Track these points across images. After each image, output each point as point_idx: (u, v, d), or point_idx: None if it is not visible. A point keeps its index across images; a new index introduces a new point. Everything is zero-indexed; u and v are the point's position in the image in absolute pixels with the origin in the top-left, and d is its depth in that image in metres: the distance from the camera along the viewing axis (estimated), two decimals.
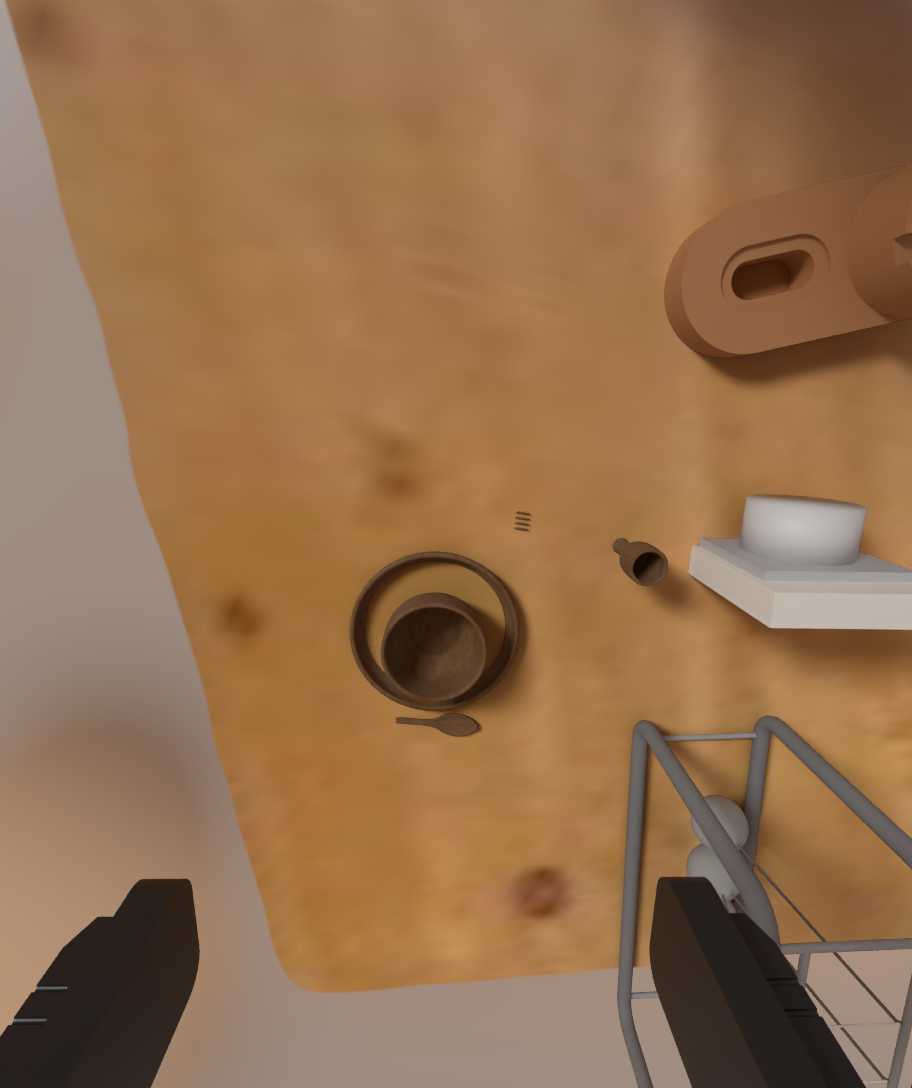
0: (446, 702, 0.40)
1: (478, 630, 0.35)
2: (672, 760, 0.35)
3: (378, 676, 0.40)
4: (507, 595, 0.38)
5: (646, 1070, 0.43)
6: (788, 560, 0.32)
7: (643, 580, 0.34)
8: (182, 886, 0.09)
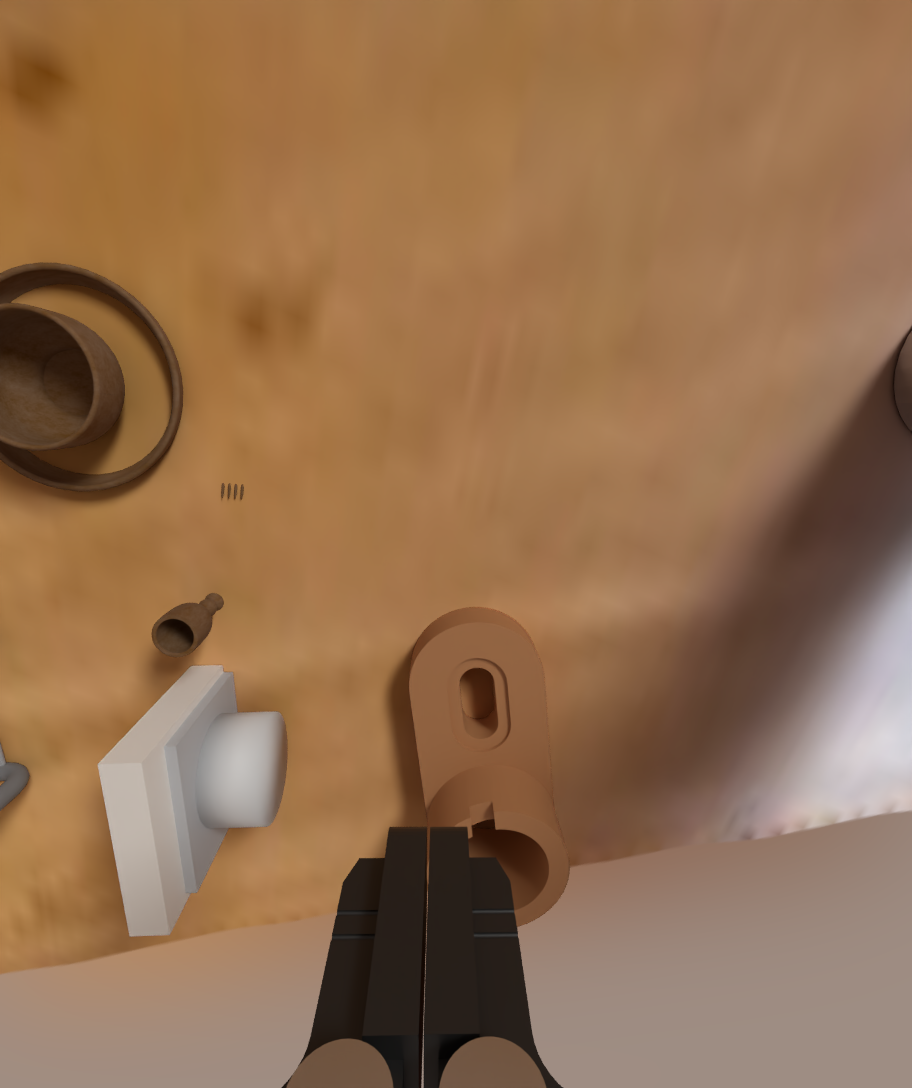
0: None
1: (68, 438, 0.27)
2: None
3: None
4: (133, 475, 0.31)
5: None
6: (199, 765, 0.30)
7: (160, 631, 0.29)
8: (426, 833, 0.10)
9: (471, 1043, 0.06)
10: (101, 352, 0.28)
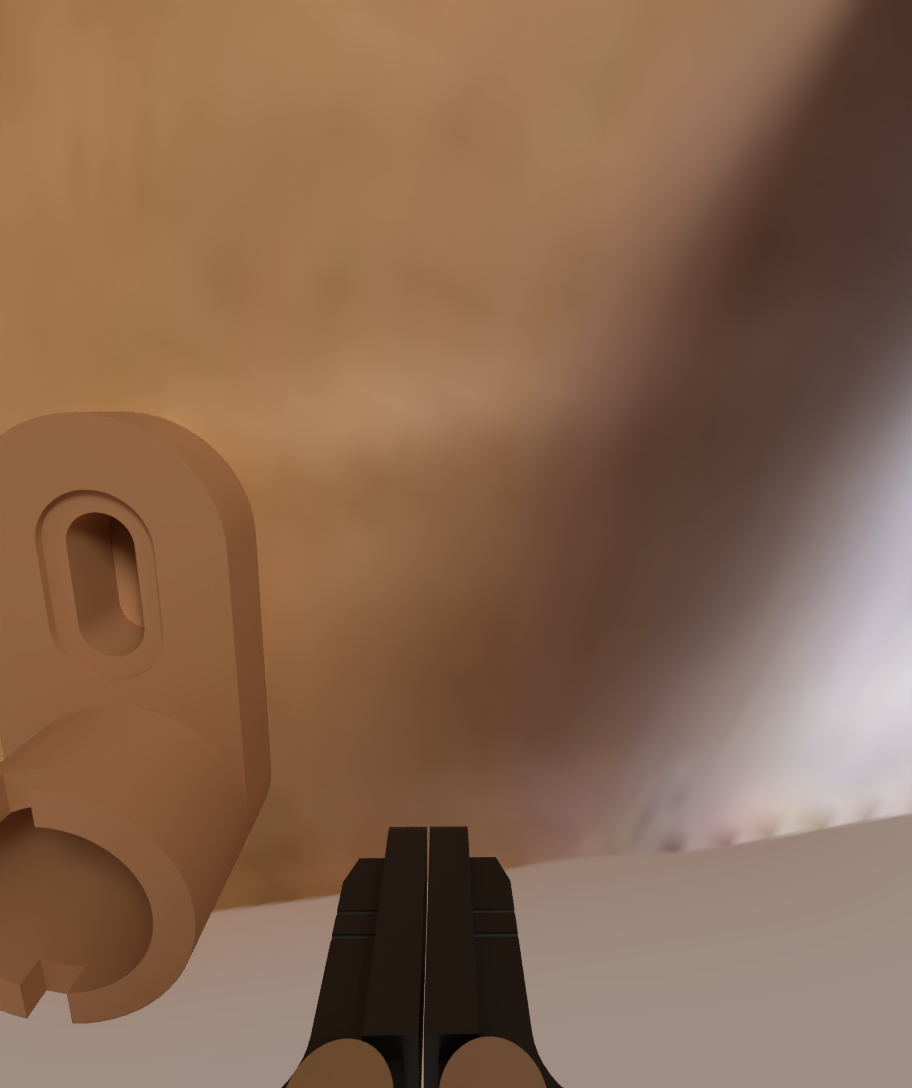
0: None
1: None
2: None
3: None
4: None
5: None
6: None
7: None
8: (426, 833, 0.10)
9: (471, 1043, 0.06)
10: None
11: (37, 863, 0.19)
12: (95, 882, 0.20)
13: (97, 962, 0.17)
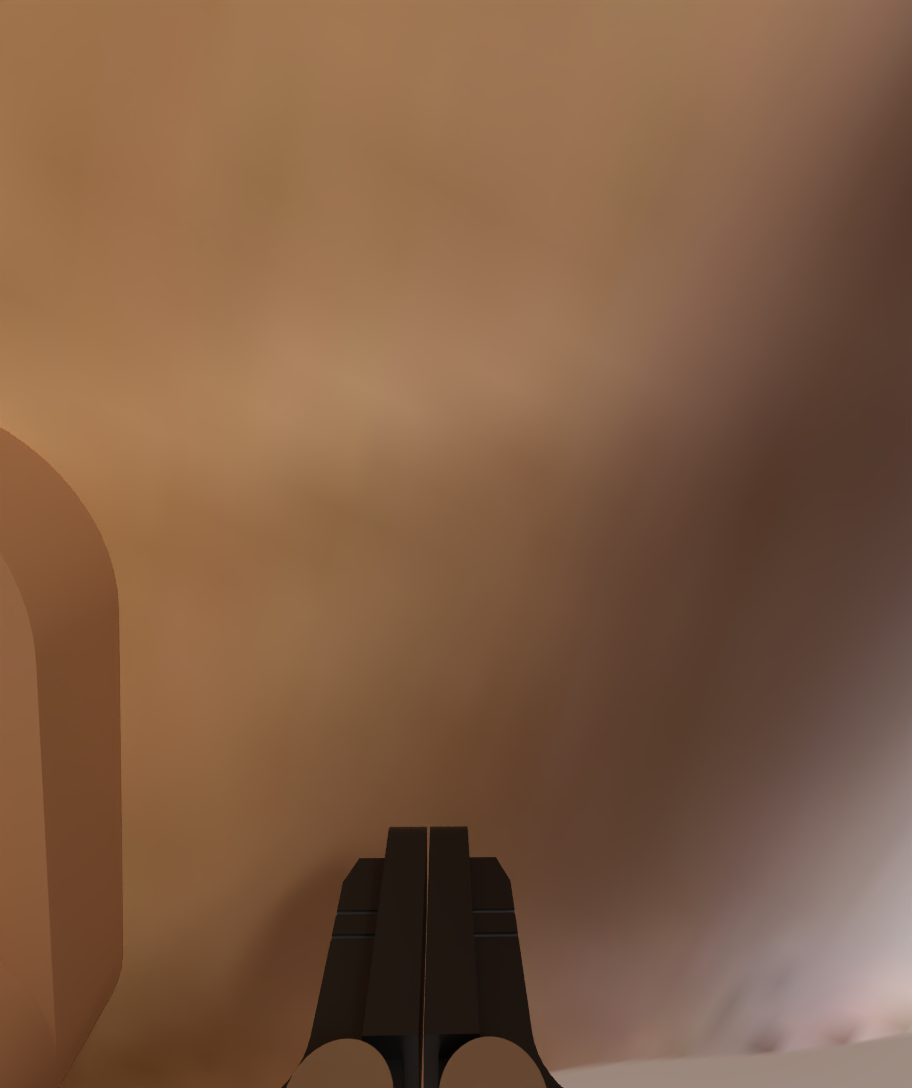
0: None
1: None
2: None
3: None
4: None
5: None
6: None
7: None
8: (426, 833, 0.10)
9: (471, 1043, 0.06)
10: None
11: None
12: None
13: None
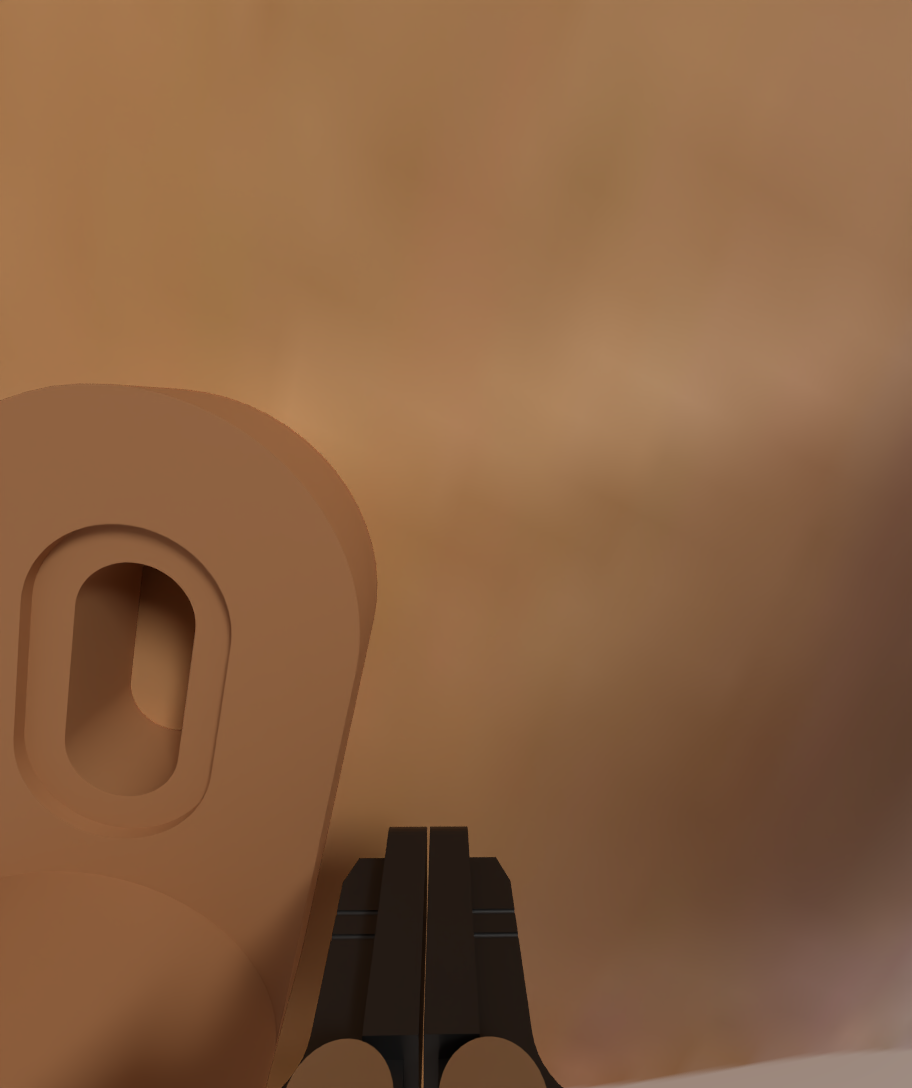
0: None
1: None
2: None
3: None
4: None
5: None
6: None
7: None
8: (426, 833, 0.10)
9: (471, 1043, 0.06)
10: None
11: None
12: None
13: None
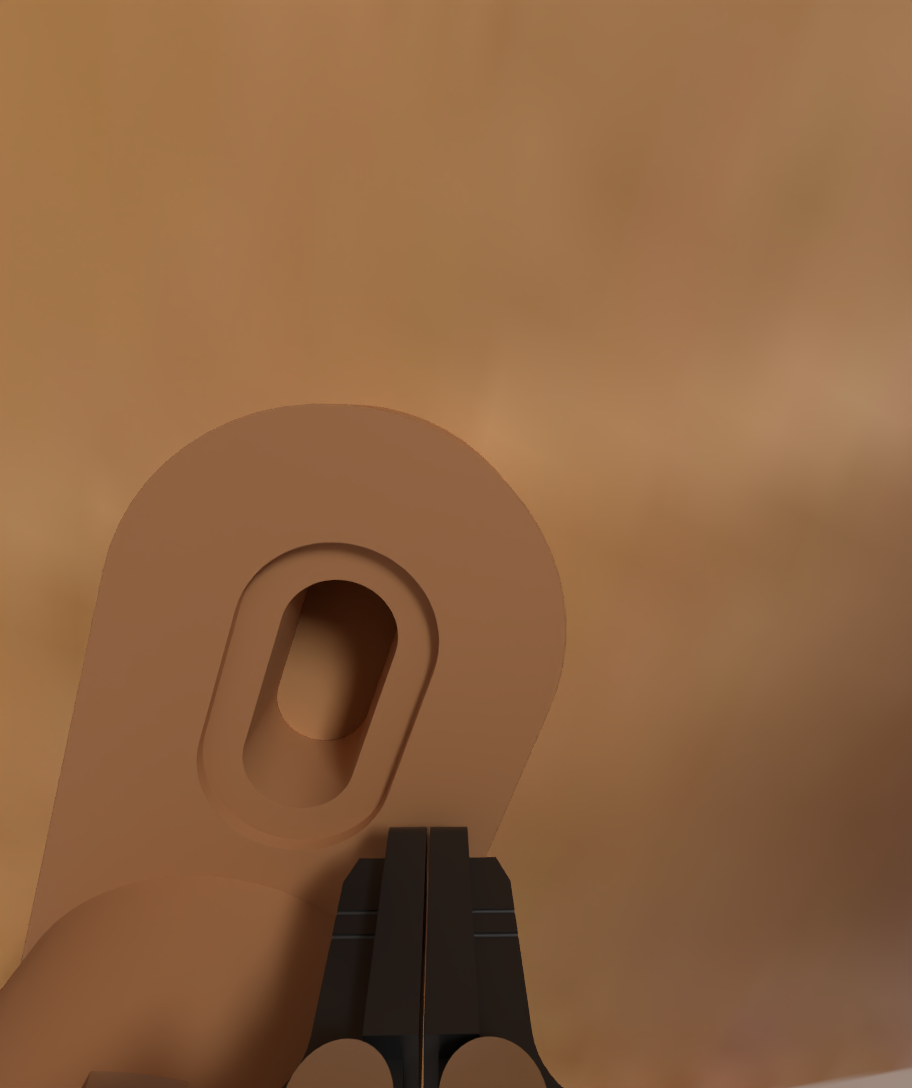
0: None
1: None
2: None
3: None
4: None
5: None
6: None
7: None
8: (426, 833, 0.10)
9: (471, 1043, 0.06)
10: None
11: None
12: None
13: None
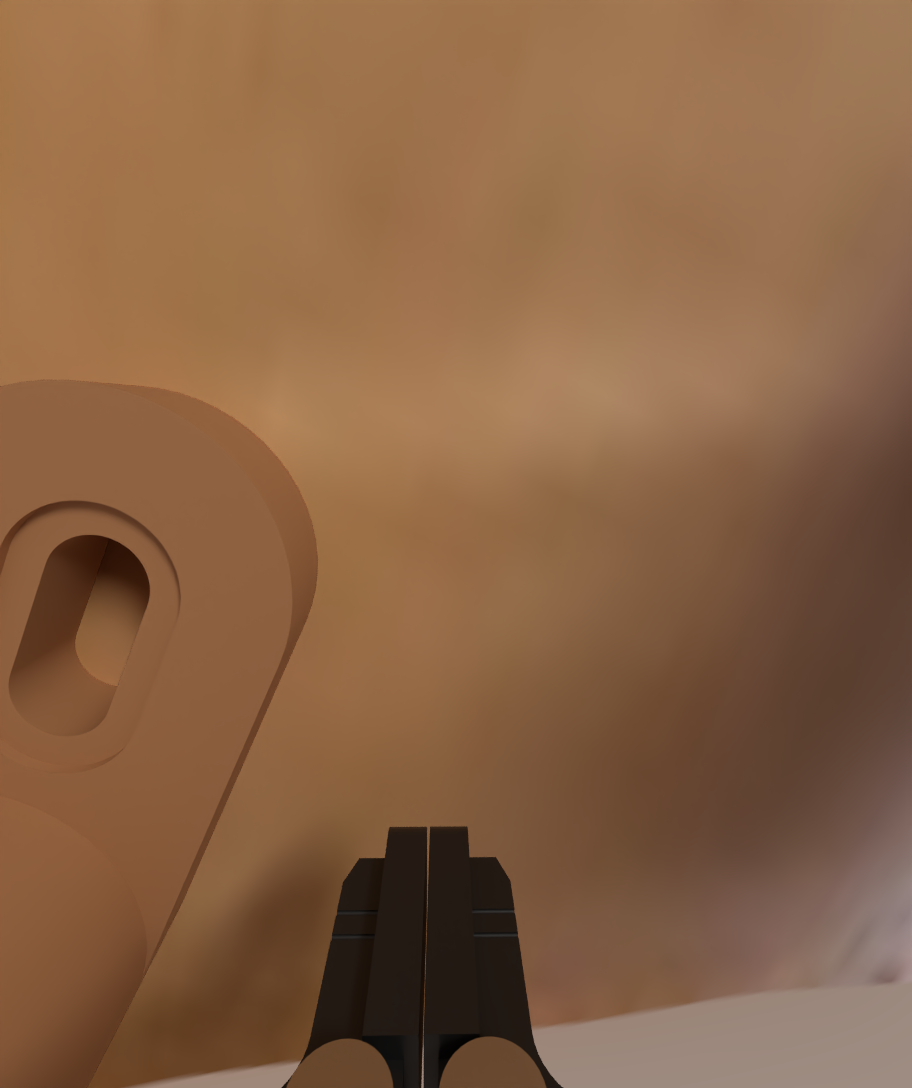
0: None
1: None
2: None
3: None
4: None
5: None
6: None
7: None
8: (426, 833, 0.10)
9: (471, 1043, 0.06)
10: None
11: None
12: None
13: None
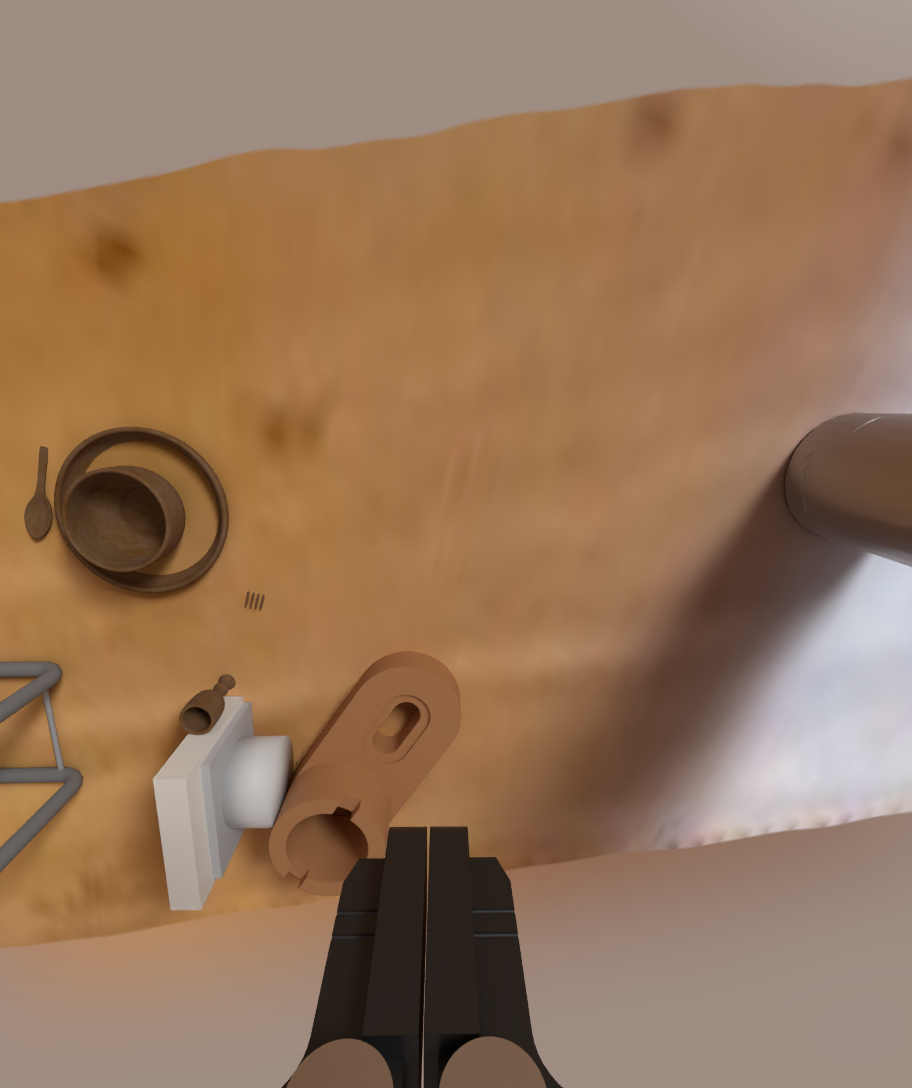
0: None
1: (140, 566, 0.36)
2: (13, 708, 0.36)
3: (95, 446, 0.38)
4: (180, 585, 0.40)
5: None
6: (225, 779, 0.38)
7: (185, 713, 0.38)
8: (426, 833, 0.10)
9: (471, 1043, 0.06)
10: (173, 504, 0.37)
11: None
12: (304, 828, 0.43)
13: (313, 868, 0.41)
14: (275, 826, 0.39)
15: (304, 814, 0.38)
